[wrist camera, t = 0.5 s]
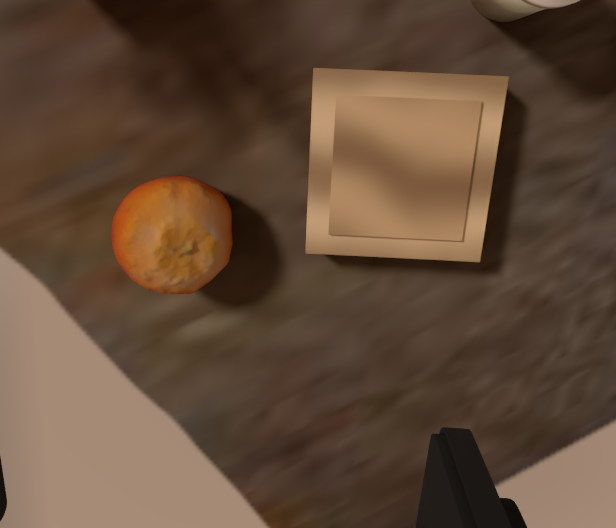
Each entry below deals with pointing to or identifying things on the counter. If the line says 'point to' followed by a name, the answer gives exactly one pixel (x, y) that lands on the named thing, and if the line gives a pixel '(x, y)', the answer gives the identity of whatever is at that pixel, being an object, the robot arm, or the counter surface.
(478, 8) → the canister
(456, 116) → the base
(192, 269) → the fruit
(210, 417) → the counter surface
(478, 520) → the robot arm
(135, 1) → the counter surface
